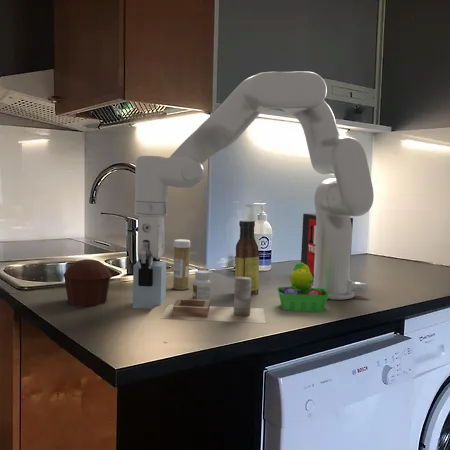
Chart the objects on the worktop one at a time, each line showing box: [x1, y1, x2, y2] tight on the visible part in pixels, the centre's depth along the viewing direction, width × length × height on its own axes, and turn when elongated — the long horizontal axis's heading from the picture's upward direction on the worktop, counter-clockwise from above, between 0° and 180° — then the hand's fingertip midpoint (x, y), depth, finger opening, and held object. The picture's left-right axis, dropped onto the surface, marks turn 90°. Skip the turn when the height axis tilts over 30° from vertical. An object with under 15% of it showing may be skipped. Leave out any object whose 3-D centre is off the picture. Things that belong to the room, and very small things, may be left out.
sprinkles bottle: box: [172, 238, 191, 291], centre depth 139 cm, size 5×5×14 cm
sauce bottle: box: [234, 219, 260, 296], centre depth 133 cm, size 7×6×20 cm
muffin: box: [63, 258, 113, 307], centre depth 121 cm, size 12×11×10 cm
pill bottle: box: [192, 270, 212, 301], centre depth 124 cm, size 4×4×8 cm
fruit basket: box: [276, 261, 329, 313], centre depth 119 cm, size 11×9×11 cm
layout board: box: [159, 277, 267, 324], centre depth 111 cm, size 22×12×9 cm, turn 88°
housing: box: [132, 261, 167, 310], centre depth 120 cm, size 6×6×10 cm
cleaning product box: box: [300, 213, 354, 280], centre depth 162 cm, size 16×9×20 cm, turn 16°
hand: (149, 281), depth 120 cm, fingers open, 9 cm apart
